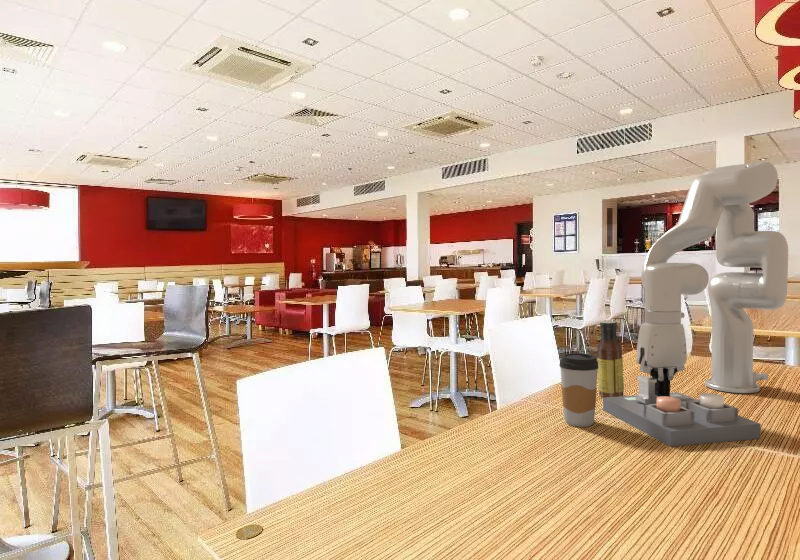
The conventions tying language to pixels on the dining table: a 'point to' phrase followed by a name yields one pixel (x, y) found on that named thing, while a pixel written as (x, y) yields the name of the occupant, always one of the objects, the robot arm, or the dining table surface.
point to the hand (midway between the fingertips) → (662, 396)
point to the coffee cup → (579, 388)
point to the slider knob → (646, 390)
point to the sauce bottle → (610, 362)
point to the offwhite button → (711, 401)
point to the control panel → (683, 421)
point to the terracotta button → (668, 404)
